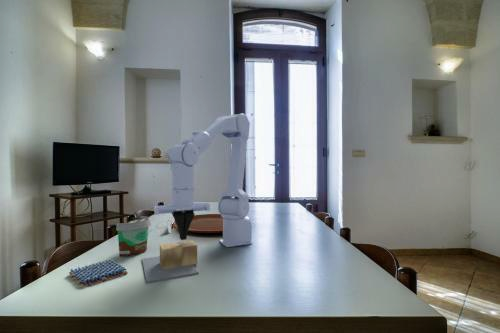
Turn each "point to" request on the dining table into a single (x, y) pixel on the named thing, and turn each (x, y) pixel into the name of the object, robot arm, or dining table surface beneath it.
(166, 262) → the wood block
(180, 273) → the grey rubber mat
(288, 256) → the dining table surface
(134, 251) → the food container
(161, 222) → the sunglasses
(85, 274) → the woven mat
